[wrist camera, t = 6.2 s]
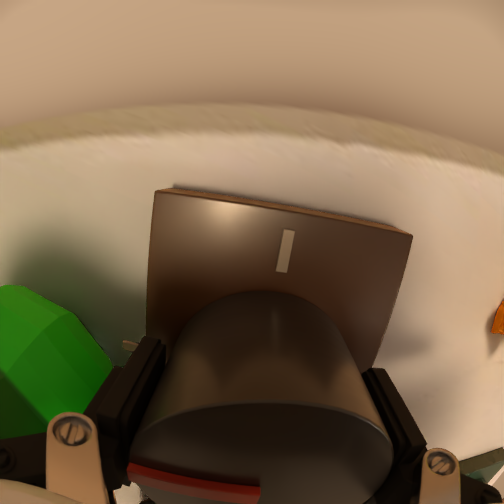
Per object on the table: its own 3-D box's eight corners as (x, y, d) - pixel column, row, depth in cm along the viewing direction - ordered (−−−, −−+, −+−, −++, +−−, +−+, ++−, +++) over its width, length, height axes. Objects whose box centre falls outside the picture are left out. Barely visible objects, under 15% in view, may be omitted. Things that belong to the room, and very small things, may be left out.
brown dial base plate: (335, 438, 15) (342, 465, 12) (143, 413, 14) (132, 440, 12) (409, 229, 12) (435, 240, 10) (149, 185, 11) (128, 187, 9)
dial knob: (368, 304, 10) (447, 410, 5) (318, 432, 12) (339, 538, 6) (181, 274, 10) (107, 377, 5) (171, 413, 12) (137, 521, 6)
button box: (451, 504, 19) (460, 524, 15) (394, 520, 18) (402, 544, 15) (502, 447, 16) (517, 468, 13) (447, 464, 16) (462, 492, 13)
